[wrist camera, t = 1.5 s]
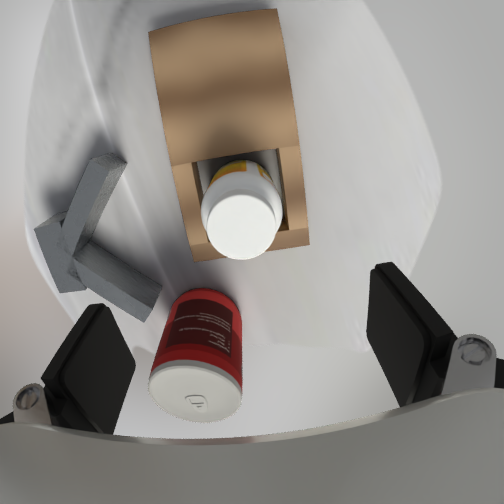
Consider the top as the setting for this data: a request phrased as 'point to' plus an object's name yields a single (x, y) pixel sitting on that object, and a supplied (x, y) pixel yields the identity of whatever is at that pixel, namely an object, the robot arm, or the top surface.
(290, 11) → the top surface
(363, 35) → the top surface
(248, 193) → the supplement bottle
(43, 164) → the top surface
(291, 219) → the wooden board with cutout
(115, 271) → the v block
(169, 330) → the canned food
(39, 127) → the top surface
